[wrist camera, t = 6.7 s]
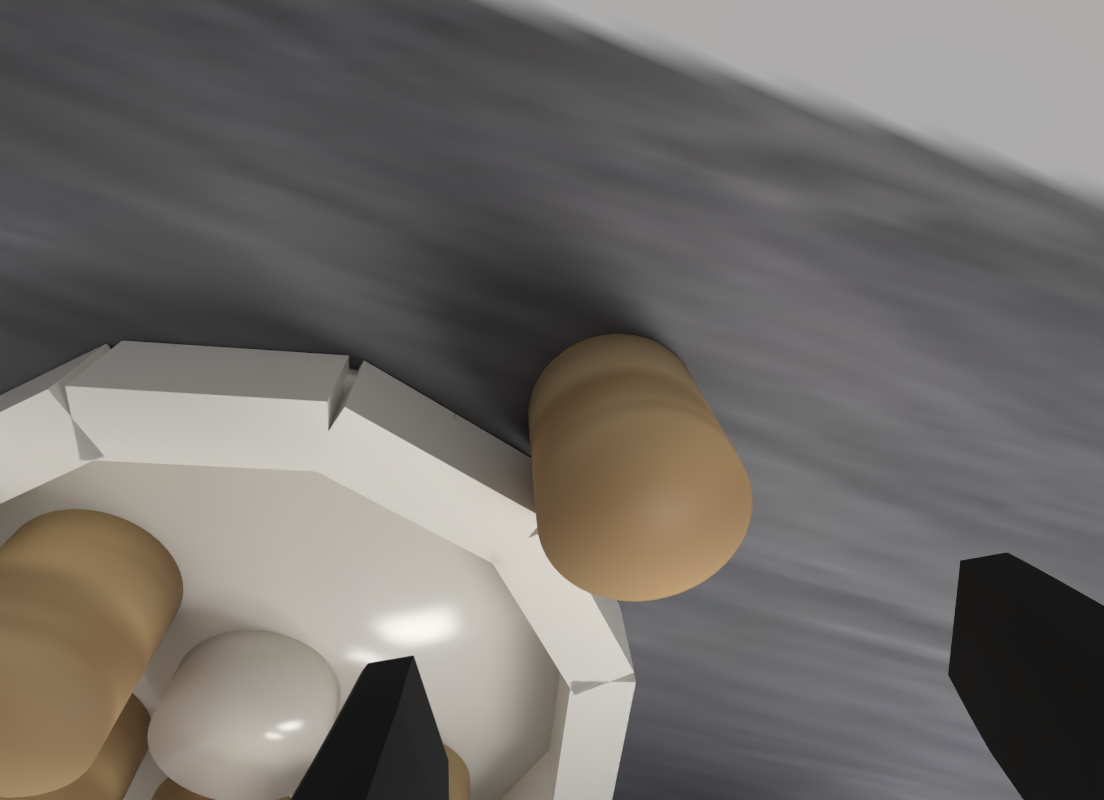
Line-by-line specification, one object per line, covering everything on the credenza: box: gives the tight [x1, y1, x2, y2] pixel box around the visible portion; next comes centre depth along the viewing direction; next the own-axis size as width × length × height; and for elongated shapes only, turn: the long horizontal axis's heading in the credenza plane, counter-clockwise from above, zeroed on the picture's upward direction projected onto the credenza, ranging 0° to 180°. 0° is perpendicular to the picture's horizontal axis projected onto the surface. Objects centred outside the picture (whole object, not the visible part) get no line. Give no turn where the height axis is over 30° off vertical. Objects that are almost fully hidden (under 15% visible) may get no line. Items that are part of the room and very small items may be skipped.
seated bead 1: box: [0, 509, 183, 798], centre depth 15 cm, size 4×4×4 cm
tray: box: [0, 341, 636, 800], centre depth 18 cm, size 18×18×2 cm
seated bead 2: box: [0, 693, 151, 800], centre depth 17 cm, size 4×4×4 cm
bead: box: [528, 334, 753, 601], centre depth 15 cm, size 4×4×4 cm
